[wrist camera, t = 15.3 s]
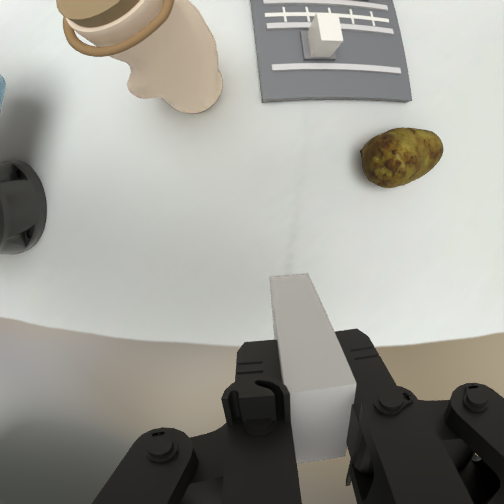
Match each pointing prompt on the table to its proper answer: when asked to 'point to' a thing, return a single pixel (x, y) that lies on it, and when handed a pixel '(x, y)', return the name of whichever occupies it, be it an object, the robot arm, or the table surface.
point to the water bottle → (151, 47)
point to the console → (347, 54)
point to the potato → (400, 156)
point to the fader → (322, 37)
